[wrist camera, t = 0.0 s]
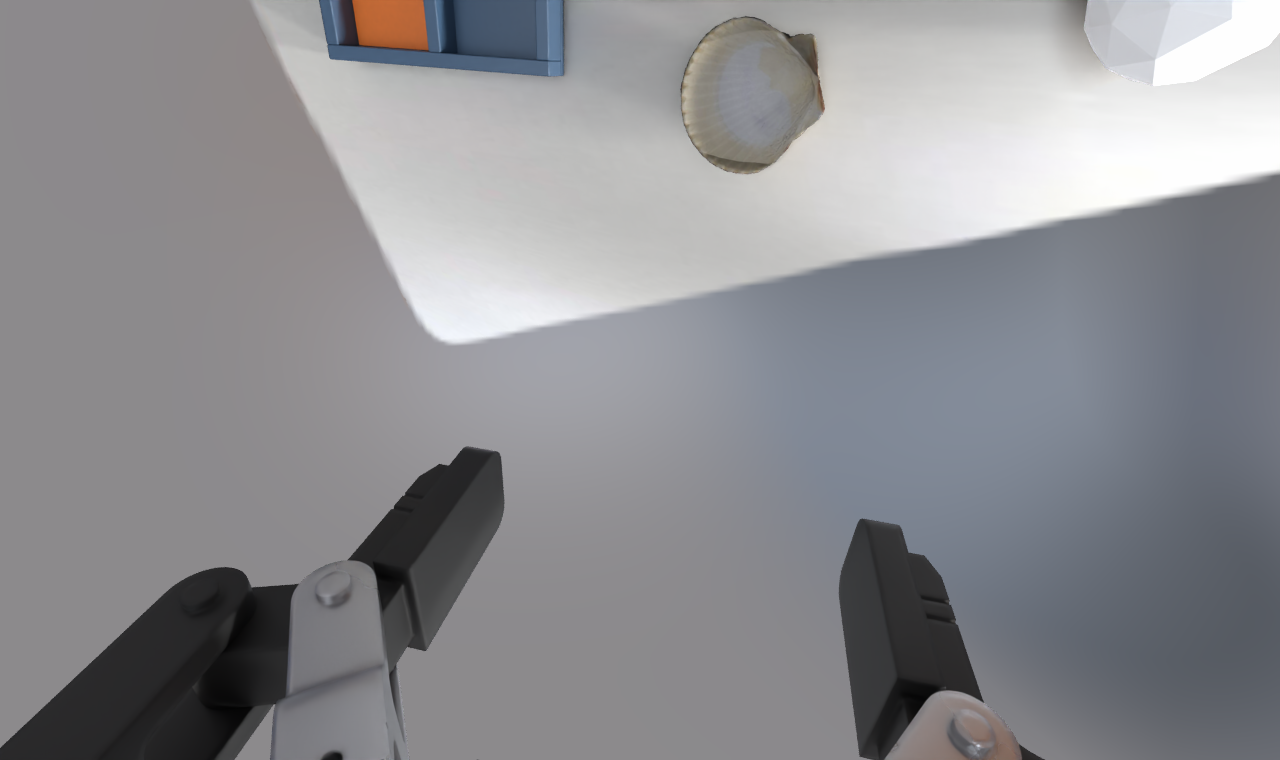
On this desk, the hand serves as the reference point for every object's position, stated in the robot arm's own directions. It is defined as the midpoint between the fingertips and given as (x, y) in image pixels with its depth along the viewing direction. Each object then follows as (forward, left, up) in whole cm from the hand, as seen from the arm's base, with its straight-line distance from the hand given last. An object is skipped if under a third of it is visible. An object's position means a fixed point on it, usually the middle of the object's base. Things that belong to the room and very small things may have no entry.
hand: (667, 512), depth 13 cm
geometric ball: (-13, +19, -30) cm, 37 cm away
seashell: (-7, 0, -30) cm, 30 cm away
